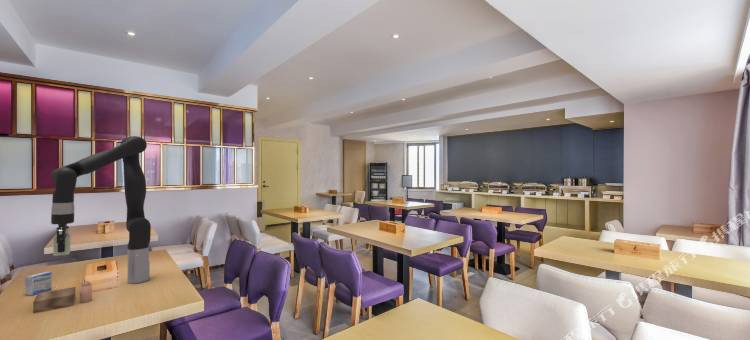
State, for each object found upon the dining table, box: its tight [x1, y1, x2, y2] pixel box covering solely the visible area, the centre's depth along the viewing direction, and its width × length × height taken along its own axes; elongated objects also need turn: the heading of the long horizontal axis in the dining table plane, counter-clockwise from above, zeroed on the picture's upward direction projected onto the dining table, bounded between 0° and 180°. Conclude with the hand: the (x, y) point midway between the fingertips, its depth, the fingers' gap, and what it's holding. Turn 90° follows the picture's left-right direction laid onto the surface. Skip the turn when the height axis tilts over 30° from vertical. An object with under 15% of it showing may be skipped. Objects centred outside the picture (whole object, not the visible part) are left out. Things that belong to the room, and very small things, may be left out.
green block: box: [52, 234, 71, 257], centre depth 148 cm, size 5×5×8 cm
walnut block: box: [32, 286, 76, 314], centre depth 143 cm, size 12×12×5 cm
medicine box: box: [24, 271, 52, 296], centre depth 157 cm, size 8×4×9 cm, turn 168°
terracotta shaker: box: [79, 280, 93, 304], centre depth 147 cm, size 4×4×9 cm
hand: (62, 250), depth 148 cm, fingers closed on green block, 5 cm apart
